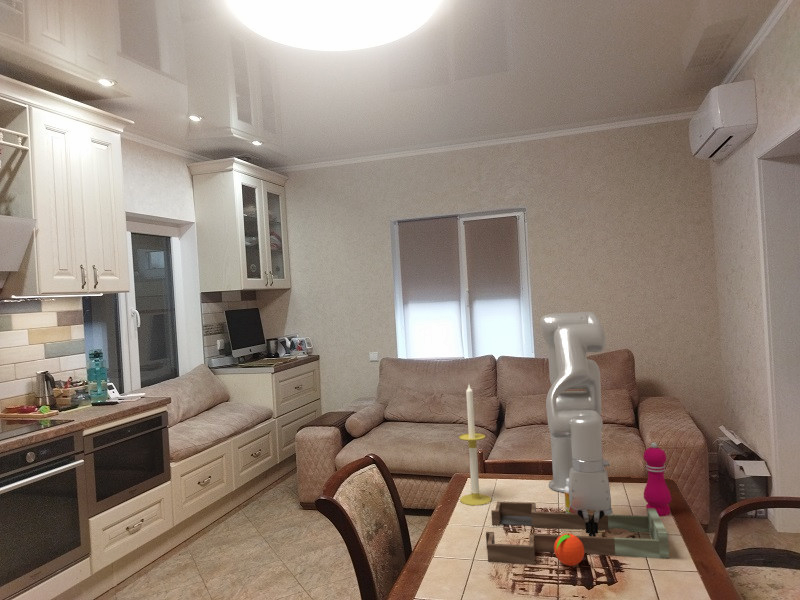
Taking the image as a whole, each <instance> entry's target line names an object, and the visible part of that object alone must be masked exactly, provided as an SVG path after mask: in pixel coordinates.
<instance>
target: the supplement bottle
mask: <svg viewBox="0 0 800 600" xmlns="http://www.w3.org/2000/svg"><path fill="white" fill-rule="evenodd" d="M566 484H567V486H566V487H565V488H564V492H563V494H564V506H565V510H564V511H565V513H570V512H569V506H570V501H569V478H567V479H566Z"/></svg>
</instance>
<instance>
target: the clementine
mask: <svg viewBox="0 0 800 600" xmlns="http://www.w3.org/2000/svg"><path fill="white" fill-rule="evenodd" d="M560 535H561V536H559V537H558V538H557V540H556V541H555V544H554V552H553V553H554V555H555V556H556V558H557V559H558V561H559V562H560V563H562V564H563V565H564V566H565V565H566V566H569V567H571V566H576V565H578V564H580V563H581V562H582V561H583V559H584V557H585V554H584V546H583V544H582V542H581V541H580V539H579V538H577V537H576V536H577V535H575V534H571V533H563V534H560Z"/></svg>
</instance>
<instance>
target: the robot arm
mask: <svg viewBox="0 0 800 600" xmlns="http://www.w3.org/2000/svg"><path fill="white" fill-rule="evenodd" d="M599 319H600V318H598V316H597V314H596V313H594V312H591V311H580V312H579V311H577V312H556V313H549V314H545V315H543V316H541V318H540V320H539V329H540V332H541V333H540V334H541V335H542V338H543V339H544V341H545V344H546V346H547V351H548V352H547V353H548V375H549V383H550V385H551V386H550V388H549V389H548V392H547V395H546V399H545V400H546V401H545V408H546V417H547V418H546V419H547V427H548V430H549V433H550V448H551V460H552V461H551V464H552V479H551V480H550V481H549V482H548V487H549V488H550V490H553V491H555V492H560V493H564V488H565V487H566V486H567V484H566V479H567V478H569V501H570V506H569V512H570V513H574V514H578V515H579V516H580V517H581V518H582V519H584V521H585V529H586V530H585V534H588V536H593V537H597V534H599V530H598V522H599V520H600V519H601V518H602V517H603V516H604V515H609V514H611V515H613V509H612V497H611V496H612V495H611V487H610V481H609V475H608V471H607V469H606V467H610V461H609V460H606V459H604V457H603V456H604V455H603V440H602V438H603V437H602V432H603V429H604V422H603V418H602V416H601V415H602V387H601V384H602V383H601V372H600V367H599V365H598V363H597V362H596V361H595V360H594V359H591V358H590V359H588V357H587V353H600V352H603V351H604V350H605V349H606V346H607V337H606V332H605V329H604V326H603V325H602V323H601V321H600V320H599ZM578 389H579V390H578ZM566 390H569V391H566ZM570 390H571V391H570ZM573 390H574V391H573ZM588 511H592V514H593V517H592V519H590V517H589V516H588V514H589V512H588Z"/></svg>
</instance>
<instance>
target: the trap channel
mask: <svg viewBox="0 0 800 600" xmlns="http://www.w3.org/2000/svg"><path fill="white" fill-rule="evenodd" d="M495 505H496V506H495V510H492V509H491V511H490V514H491V526H492V525H493V527H499V526H501V525H500V524H503V525H504V524H505V525H504V526H519V525H523V527H527V526H528V527H531V528H533V527H535V528H536V529H539V528H540V529H555V530H557V529H561V530H580V529H585V521H584V519H582V518H581V517H580V516H579V515H578V514H574V513H566V512H556V511H555V512H552V511H550V512H549V511H537V508H536V507H537V506H536V502H522V501H521V502H517V501H496V504H495ZM588 516H589V517H590V519H592V517H593V513H588ZM660 517H661V516H659V515H658V513H657V511H656V510H655V508H647V511H646V515H640V514H639V515H635V514H634V515H633V514H609V515H604V516H603V517H602V518H601V519H600V520H599V522H598V531H602V532H605V531H604V530H608V529H614V528H619V529H625V530H628V531H630V532H632V533H649V536H650V538H640V539H638V538H639V537H635V538H616V537H602V536H596V537H593V536H589V535H575V536H576V537H577V538H579V539H580V541H581V542H582V544H583V546H584V555H593V554H598V555H597V556H612V557H613V556H615V557H632V558H635V557H636V558H653V559H670V549H669V534H668V533H669V532H668V531H667V529H666V527H665V525H664V524H663V523H664V522H663V521H662V520H661V518H660ZM494 525H496V526H494ZM497 525H498V526H497ZM503 525H502V526H503ZM535 528H534V529H535ZM561 535H562V534H546V533H545V534H544V533H529V543H528V545H526V544H507V543H496V540H495V531H485V540H486V541H485V542H486V544H485V545H486V551H487V562H489V563H491V562H492V563H506V564H507V563H509V564H520V565H521V564H522V565H523V564H525V565H535V559H536V557H535V556H536V554H535V553H536V552H538V553H555V552H554V544H555V541H556V540H557V538H558V537H559V536H561ZM585 553H587V554H585Z"/></svg>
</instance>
